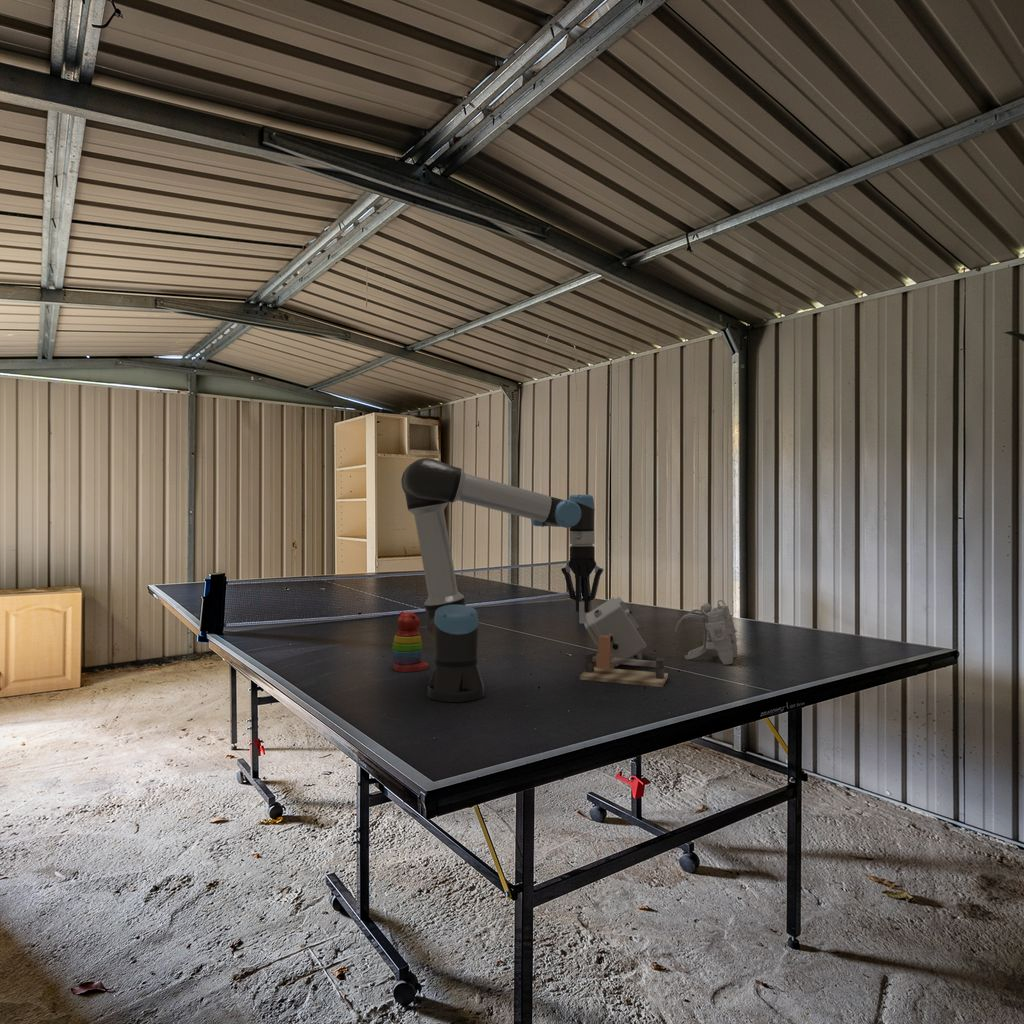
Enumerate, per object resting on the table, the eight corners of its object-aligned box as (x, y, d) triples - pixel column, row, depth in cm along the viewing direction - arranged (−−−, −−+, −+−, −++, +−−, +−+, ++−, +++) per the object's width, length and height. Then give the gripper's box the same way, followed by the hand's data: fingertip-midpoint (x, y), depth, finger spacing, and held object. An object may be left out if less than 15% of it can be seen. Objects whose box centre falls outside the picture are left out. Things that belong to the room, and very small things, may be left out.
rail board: (579, 679, 193) (579, 657, 193) (589, 670, 205) (589, 649, 205) (662, 687, 185) (662, 664, 185) (667, 677, 196) (667, 655, 196)
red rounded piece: (431, 668, 207) (432, 612, 207) (406, 674, 199) (406, 615, 199) (410, 663, 214) (410, 608, 214) (384, 668, 207) (385, 611, 207)
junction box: (661, 657, 204) (622, 598, 204) (621, 683, 204) (582, 624, 205) (649, 642, 228) (614, 589, 228) (613, 666, 228) (578, 612, 229)
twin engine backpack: (692, 661, 232) (678, 605, 234) (746, 653, 224) (731, 596, 226) (681, 672, 216) (667, 612, 218) (739, 664, 208) (723, 602, 210)
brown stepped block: (596, 667, 196) (596, 637, 196) (599, 664, 200) (599, 634, 200) (609, 669, 194) (609, 638, 194) (612, 666, 198) (612, 635, 198)
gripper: (558, 545, 198) (558, 623, 198) (600, 546, 194) (601, 625, 194) (564, 544, 205) (565, 619, 205) (605, 544, 201) (606, 621, 201)
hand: (582, 622), depth 199 cm, fingers closed
